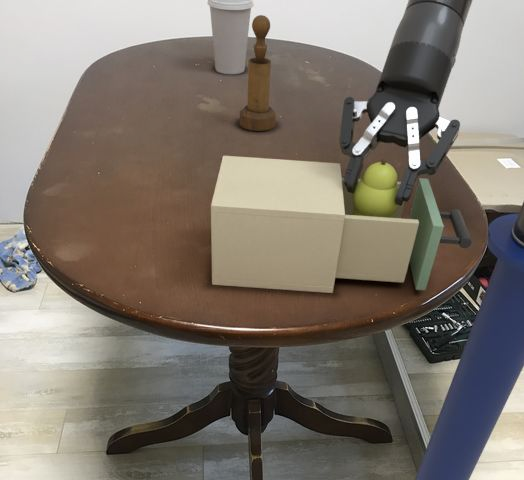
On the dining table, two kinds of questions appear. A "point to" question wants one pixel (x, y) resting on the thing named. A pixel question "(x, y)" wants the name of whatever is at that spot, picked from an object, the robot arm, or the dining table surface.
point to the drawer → (396, 240)
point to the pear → (376, 191)
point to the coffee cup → (230, 34)
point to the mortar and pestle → (258, 83)
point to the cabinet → (277, 224)
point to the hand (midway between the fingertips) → (374, 196)
